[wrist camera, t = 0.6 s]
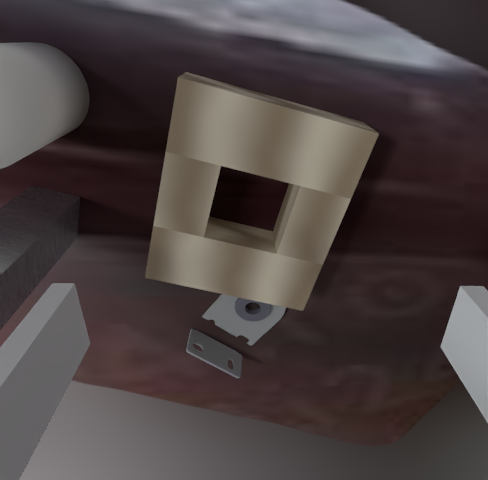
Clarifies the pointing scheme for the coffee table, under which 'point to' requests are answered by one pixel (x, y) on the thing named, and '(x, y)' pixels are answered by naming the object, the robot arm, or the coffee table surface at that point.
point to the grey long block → (33, 242)
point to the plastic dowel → (37, 98)
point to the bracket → (233, 330)
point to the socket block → (259, 163)
